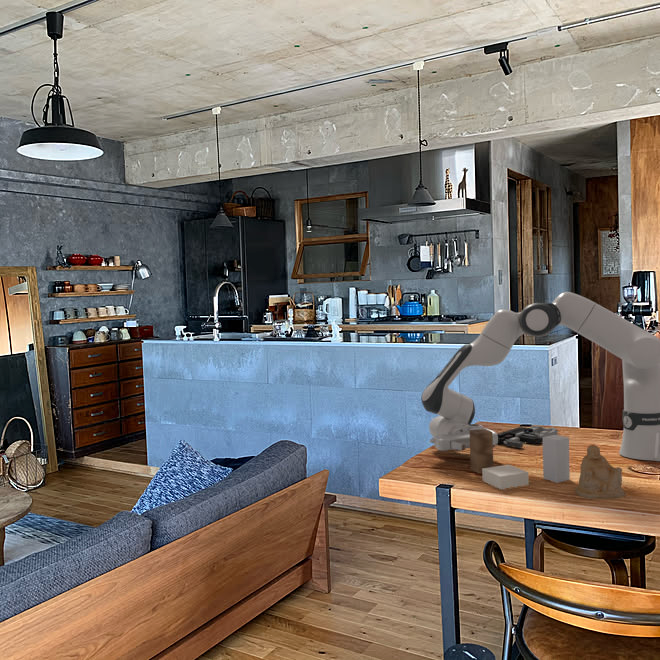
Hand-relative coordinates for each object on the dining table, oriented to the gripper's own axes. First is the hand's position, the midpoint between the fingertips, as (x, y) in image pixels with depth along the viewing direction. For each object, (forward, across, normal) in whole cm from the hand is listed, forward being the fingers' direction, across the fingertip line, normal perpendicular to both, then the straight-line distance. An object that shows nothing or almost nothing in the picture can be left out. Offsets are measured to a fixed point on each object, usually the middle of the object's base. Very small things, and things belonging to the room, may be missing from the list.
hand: (476, 445), depth 204 cm
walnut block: (+3, 0, +7) cm, 8 cm away
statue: (+34, +18, +7) cm, 39 cm away
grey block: (+19, +15, +7) cm, 25 cm away
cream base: (+17, 0, +7) cm, 19 cm away
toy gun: (-24, +29, +8) cm, 38 cm away
